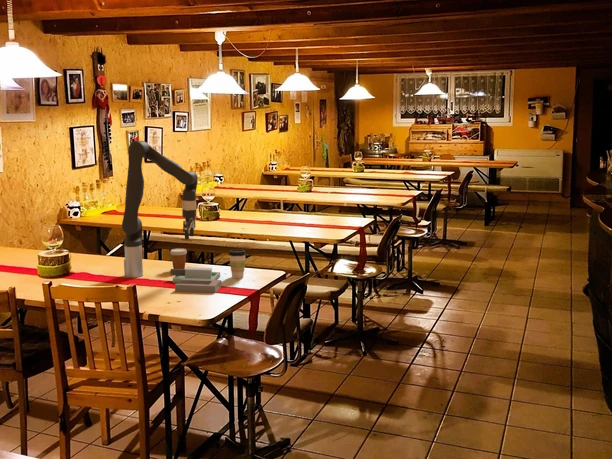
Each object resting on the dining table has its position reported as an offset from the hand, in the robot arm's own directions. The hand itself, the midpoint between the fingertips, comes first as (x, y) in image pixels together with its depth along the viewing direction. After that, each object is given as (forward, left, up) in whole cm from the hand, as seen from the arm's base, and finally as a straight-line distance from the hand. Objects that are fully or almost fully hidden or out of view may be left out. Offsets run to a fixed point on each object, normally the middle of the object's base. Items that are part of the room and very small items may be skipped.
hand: (189, 237), depth 341 cm
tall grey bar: (+1, -3, -21) cm, 22 cm away
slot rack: (+10, -21, -23) cm, 32 cm away
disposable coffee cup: (-12, +16, -23) cm, 31 cm away
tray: (+4, -3, -23) cm, 23 cm away
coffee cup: (+25, +5, -23) cm, 35 cm away
